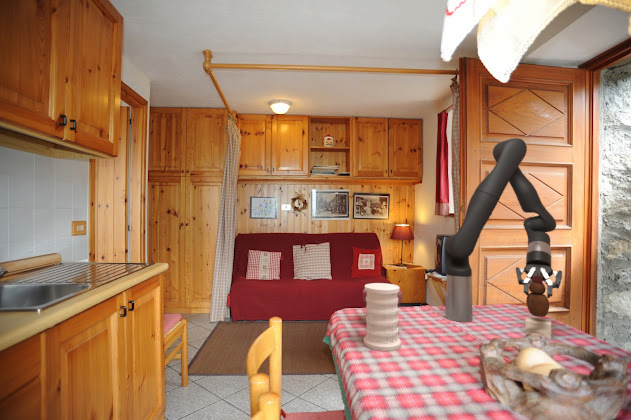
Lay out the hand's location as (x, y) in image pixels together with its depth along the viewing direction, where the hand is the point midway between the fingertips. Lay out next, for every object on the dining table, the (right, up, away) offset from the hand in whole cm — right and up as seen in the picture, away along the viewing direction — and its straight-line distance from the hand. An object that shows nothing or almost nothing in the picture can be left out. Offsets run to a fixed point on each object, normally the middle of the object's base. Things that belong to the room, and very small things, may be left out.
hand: (537, 295), depth 108 cm
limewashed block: (+1, -14, +1) cm, 14 cm away
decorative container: (-54, -14, -7) cm, 56 cm away
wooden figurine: (+1, -7, +1) cm, 8 cm away
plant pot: (-50, -14, +11) cm, 53 cm away
